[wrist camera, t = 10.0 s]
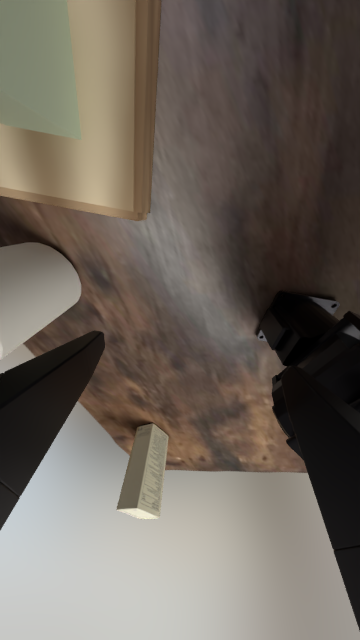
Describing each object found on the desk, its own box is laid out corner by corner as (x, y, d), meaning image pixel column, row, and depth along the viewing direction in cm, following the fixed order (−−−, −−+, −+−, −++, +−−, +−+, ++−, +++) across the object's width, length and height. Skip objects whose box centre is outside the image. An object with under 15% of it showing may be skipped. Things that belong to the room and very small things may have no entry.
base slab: (165, -71, 9) (152, -181, 6) (149, 220, 16) (140, 222, 14) (-90, -122, 9) (-205, -256, 6) (8, 193, 16) (-28, 190, 13)
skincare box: (137, 425, 37) (113, 509, 26) (154, 422, 35) (136, 508, 25) (154, 439, 39) (138, 520, 29) (170, 436, 38) (160, 520, 28)
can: (9, 234, 18) (-238, 264, 8) (80, 248, 18) (-71, 295, 8) (30, 299, 22) (-113, 374, 12) (89, 309, 22) (-4, 394, 12)
